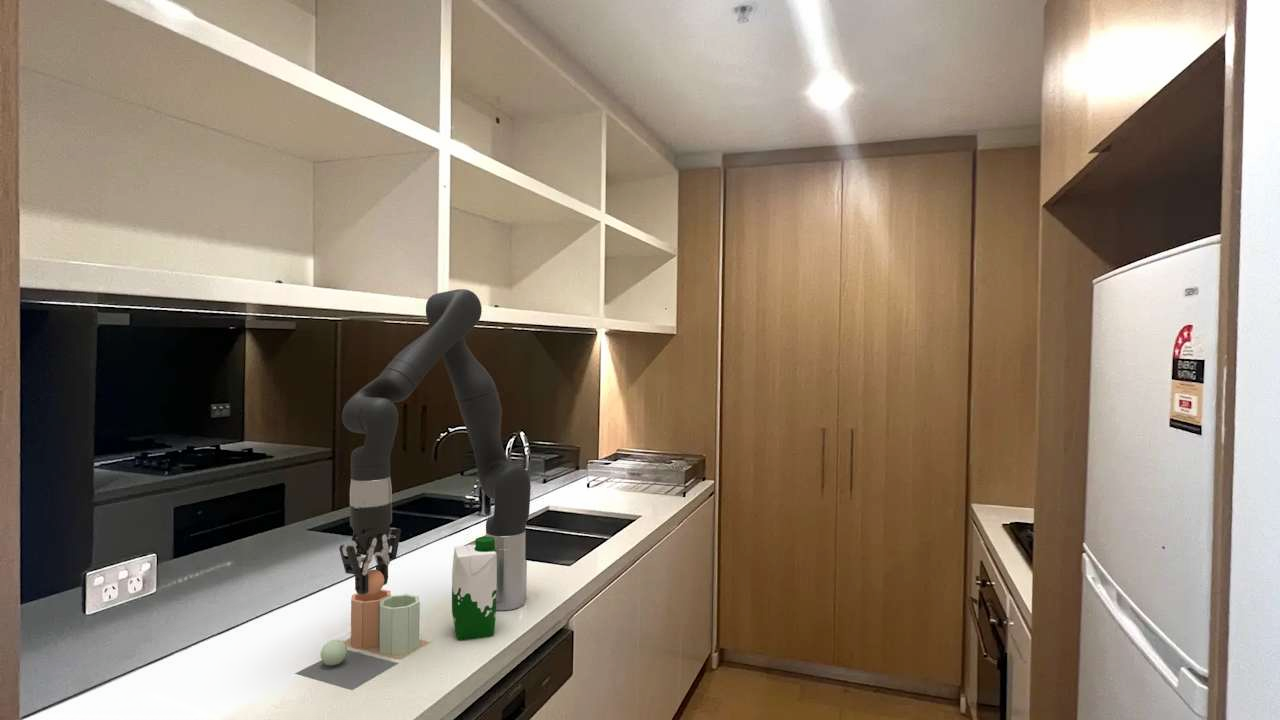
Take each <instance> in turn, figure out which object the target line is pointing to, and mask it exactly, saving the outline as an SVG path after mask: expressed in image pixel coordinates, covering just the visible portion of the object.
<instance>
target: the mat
mask: <svg viewBox="0 0 1280 720" xmlns="http://www.w3.org/2000/svg"><path fill="white" fill-rule="evenodd" d="M398 664H399V662H396V661H392V660H387V659H384V658H380V657H376V656H373V655H368V654H365V653H361V652H356V651H353V650H349V649H347V654H346V657H345V658H344V660H343V661H342V662H341V663H339V664H337V665H334V666H329V665H326V664H325V663H324V662H323V661H322V659H320V660H319V661H317V662H315V663H313V664H310V665H309V666H307V667H305V668H303V669H301V670H299V671H297V672H295V673H294V675H298V676H302V677H304V678H308V679H312V680H315V681H319V682H322V683H326V684H329V685H333V686H336V687H340V688H342V689H347V690H351V691H353V690H356V689H357V688H359V687H360V686H362V685H364V684H365V683H367V682H369V681H371V680H372V679H375V677H377V676H380V675H381V674H383V673H385V672H386V671H387V670H390V669H391V668H393V667H395V666H396V665H398Z"/></svg>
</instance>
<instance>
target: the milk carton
mask: <svg viewBox="0 0 1280 720" xmlns="http://www.w3.org/2000/svg"><path fill="white" fill-rule="evenodd" d="M453 550H454V551H453V552H454V553H453V559H452V570H451V571H452V572H451V573H452V574H451V614H452V620H453V625H454V629H455V635H456V640H457V641H458V642H462V641H469V640H476V639H483V638H490V637H494V636H495V627H496V617H497V610H496V593H497V554H496V548H495V538H494V537H488V536H486V535H485V536H480V537H477V538H475V544H467V545H462V546H459V545H458V546H454V549H453Z"/></svg>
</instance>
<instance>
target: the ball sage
mask: <svg viewBox="0 0 1280 720" xmlns="http://www.w3.org/2000/svg"><path fill="white" fill-rule="evenodd" d="M347 650H348V646H346V645H345V643H344V642H343V640H340V639H331V640H328V641H327V642H326V643H325V644H324V645H323V646H322V647H321V651H320V660H322V661H323V662H324V663H325V664H326V665H329V666H334V665H337V664H339V663H341V662H342V661H343V660H344V658H345V657H346V654H347Z"/></svg>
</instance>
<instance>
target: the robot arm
mask: <svg viewBox="0 0 1280 720" xmlns="http://www.w3.org/2000/svg"><path fill="white" fill-rule="evenodd" d="M482 309H483V308H482V304H481V301H480V298H479V297H478V295H477V294H476V293H474V291H471V290H469V289H463V288H462V289H461V288H459V289H453V290H448V291H442V292H438V293H434V294H432V295H431V296H430V297H429V298H428V299H427V301H426V305H425V316H426V320H427V323H428V326H429V329H428V330H426V332H425V333H423V334H421V335H420V336H419V337H418V338H416V339H415V340H413V341H412V342H411V343H410V344H408V345H407V346H405V347H404V348H403V349H402V350H400V351H399V352H398V353H397V354H396V355H395V357H393V359H392V360H391V361H390V362H389V363H388V364H387V366H386V367H385V368H384V370H382V371H381V373H380V374H379V376H377V377H376V378H374V379H373V380H372V381H370V382H368V383H367V384H366V385H364V386H363V387H362V388H361V389H359V390H358V391H357V392H356V393H354V395H352V396H351V397H350V398H349V399H348V401H346V403H345V405H344V407H343V410H342V412H341V413H342V414H341V421H342V424H343V426H344V427H345V429H347V430H348V431H349V432H352V433H354V434H365V439H364V444H363V446H358V447H356V448H355V449H353V450H352V451H351V454H350V487H349V526H350V527H351V528H352V530H353V532H352V536H351V540H350V542H348V543H347V544H341V545H340V546H339V547H338V548H339V553H340V557H341V560H342V565H343V568H344V572H345V574H348V575H353V576H354V586H355V588H354V589H355V592H356V593H358V594H363V595H364V594H366V593H368V574H367V571H368V570H369V566H370V563H371V562H372V561H373V558H374V560H375V563H376V565H375V570H378V571H380V572H381V573H382V574H383V576H384V585H383V586H385V585H388V579H389V566H390V563H391V562H392V560H395V559H396V558H397V554H398V550H399V544H400V538H401V533H402V529H401V528H396V527H390V524H392V522H393V493H392V490H393V487H392V481H391V479H392V478H391V453H392V450H393V447H394V444H395V443H394V442H395V437H396V435H397V430H398V426H399V413H398V412H399V411H398V409H397V406H396V405H395V403H401V402H403V401H405V400H407V398H408V397H410V396H411V394H412V393H413V392H414V391H415V389H416V388H417V387H418V385H419V384H420V383H421V381H422V380H423V379H424V378H425V376H426V375H427V374H428V373H429V371H431V369H432V368H433V366H435V365H436V363H438V362H439V360H441V358H442V359H443V363H444V364H445V367H446V370H447V374H448V377H449V380H450V382H451V385H452V388H453V392H454V396H455V399H456V402H457V404H458V408H459V412H460V414H461V418H462V420H463V423H464V426H465V428H466V433H467V435H468V438H469V441H470V444H471V447H472V449H473V455H474V458H475V463H476V464H475V465H476V469H477V474H478V479H479V483H480V487H481V490H482V491H483V493H484V494H485V495H486V496H487V497H488V498H489V499H492V500H493V501H494V506H493V507H494V510H493V515H492V516H490V517H489V518H487V520H486V522H485V537H486V536H488V537H494V538H495V548H496V554H497V593H496V611H510V610H515V609H518V608H521V607H522V606H523V605H524V604H525V602H526V601H525V600H527V572H528V571H527V568H528V561H527V559H526V531H527V530H526V524H527V522H528V520H529V516H530V505H531V489H532V487H531V478H530V475H529V473H528V471H527V470H526V469H525V468H524V467H522V466H520V465H519V464H514V463H510V461H509V459H508V458H507V457H508V456H507V454H506V451H505V449H504V445H503V442H502V436H501V431H502V430H501V428H502V418H503V412H502V411H503V410H502V405H501V400H500V396H499V393H498V390H497V386H496V383H495V381H494V378H492V376H491V375H490V373H489V372H488V371H487V370H486V368H485V367H484V365H482V364H481V362H479V361H478V359H477V358H476V357H475V356H474V354H473V353H472V351H471V350H470V348H469V347H468V344H467V342H466V339H465V336H466V335H467V334H468V333H469V332H470V331H471V330H472V329H473V328H474V327H475V326H476V325H478V323H479V321H480V319H481V316H482V311H483V310H482ZM390 549H391V551H390ZM364 556H365V557H364ZM373 556H374V557H373Z"/></svg>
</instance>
